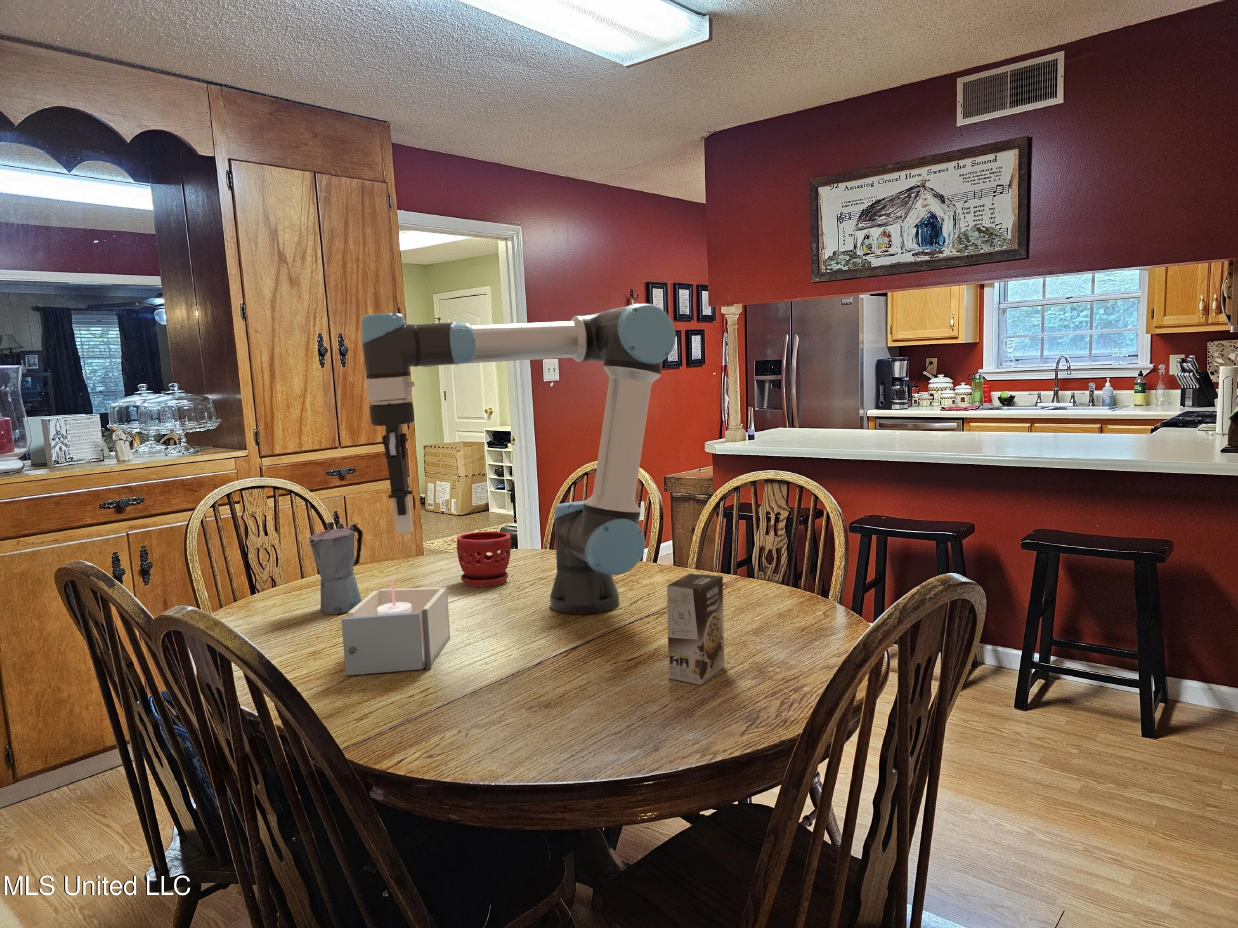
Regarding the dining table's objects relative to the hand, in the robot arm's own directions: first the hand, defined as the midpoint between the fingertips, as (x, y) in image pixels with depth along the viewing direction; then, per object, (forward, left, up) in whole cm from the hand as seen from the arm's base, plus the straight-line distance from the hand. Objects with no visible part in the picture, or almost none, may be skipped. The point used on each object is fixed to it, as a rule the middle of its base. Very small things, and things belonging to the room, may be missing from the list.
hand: (404, 531), depth 146 cm
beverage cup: (+2, +2, -23) cm, 23 cm away
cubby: (+2, -1, -23) cm, 24 cm away
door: (+3, +9, -23) cm, 25 cm away
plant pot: (-4, -50, -24) cm, 56 cm away
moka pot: (+25, -31, -24) cm, 47 cm away
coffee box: (-52, +12, -24) cm, 58 cm away
